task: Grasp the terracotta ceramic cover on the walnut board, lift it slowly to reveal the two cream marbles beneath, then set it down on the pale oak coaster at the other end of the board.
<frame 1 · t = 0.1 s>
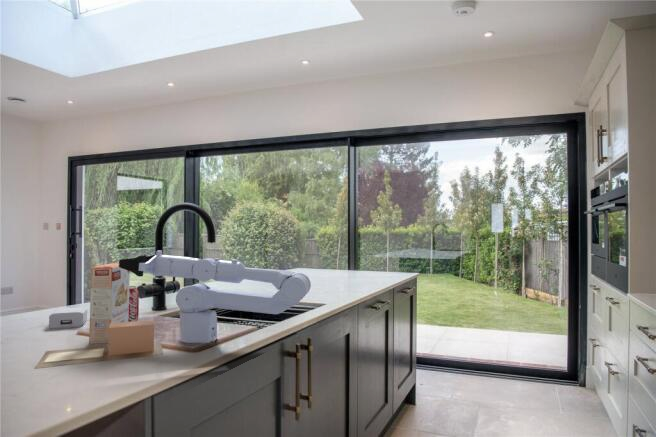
hand: (127, 262, 121), 22 cm above the table, tool horizontal, fingers open, 7 cm apart
terracotta cover: (131, 350, 108), point 1 cm above the table, touching walnut board
marble a: (141, 343, 109), point 2 cm above the table, touching walnut board
charger: (70, 323, 143), on the table
walnut board: (104, 357, 105), on the table
marble b: (121, 344, 107), point 2 cm above the table, touching walnut board
cracker box: (110, 340, 121), on the table
soda can: (126, 325, 140), on the table
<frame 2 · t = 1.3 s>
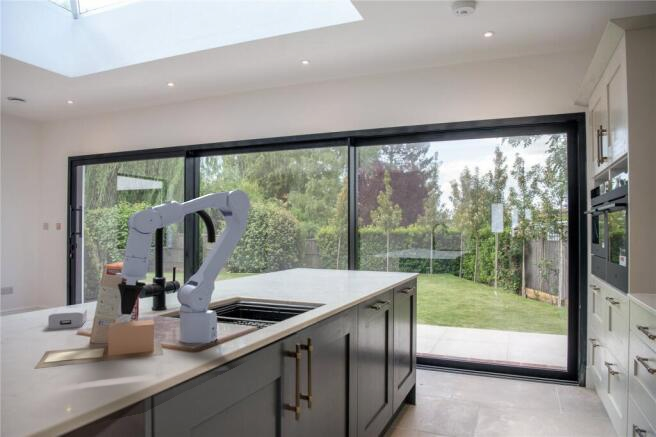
hand: (127, 311, 109), 10 cm above the table, tool pointing down, fingers open, 7 cm apart
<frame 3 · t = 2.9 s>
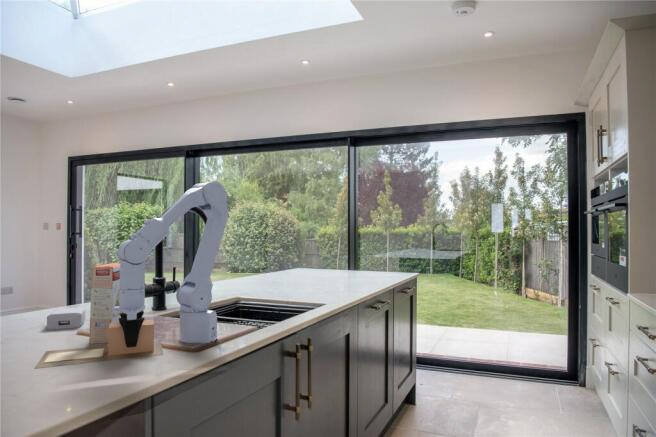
hand: (131, 343, 108), 3 cm above the table, tool pointing down, fingers closed on terracotta cover, 6 cm apart
terracotta cover: (131, 350, 108), point 1 cm above the table, touching gripper, walnut board
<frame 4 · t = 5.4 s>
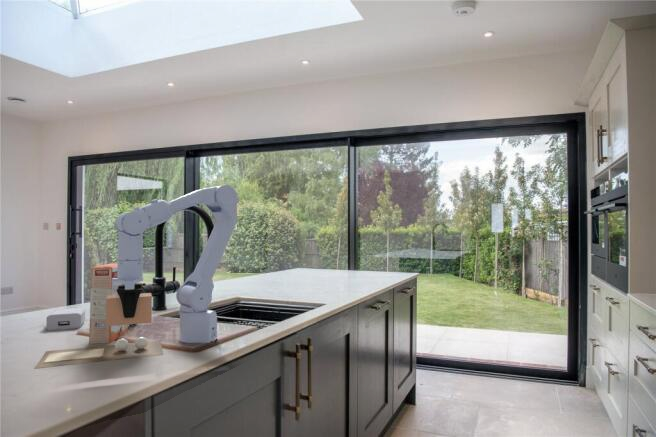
hand: (129, 315, 108), 10 cm above the table, tool pointing down, fingers closed on terracotta cover, 6 cm apart
terracotta cover: (129, 322, 108), point 8 cm above the table, touching gripper
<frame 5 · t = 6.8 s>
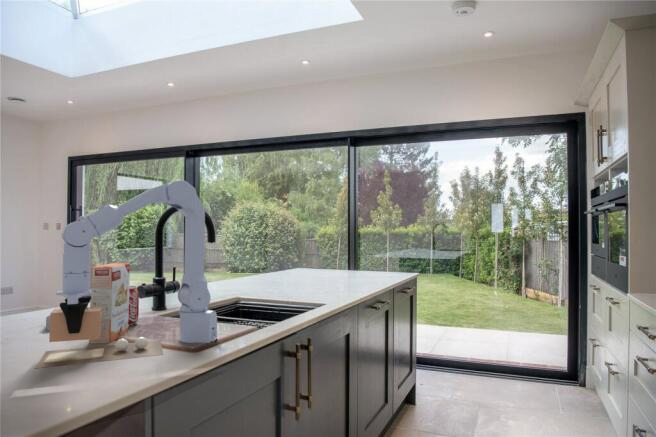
hand: (75, 330, 103), 7 cm above the table, tool pointing down, fingers closed on terracotta cover, 6 cm apart
terracotta cover: (76, 337, 103), point 5 cm above the table, touching gripper
when the fingers open (4 cm above the table, at t = 7.9 s): terracotta cover drops 1 cm, resting on walnut board.
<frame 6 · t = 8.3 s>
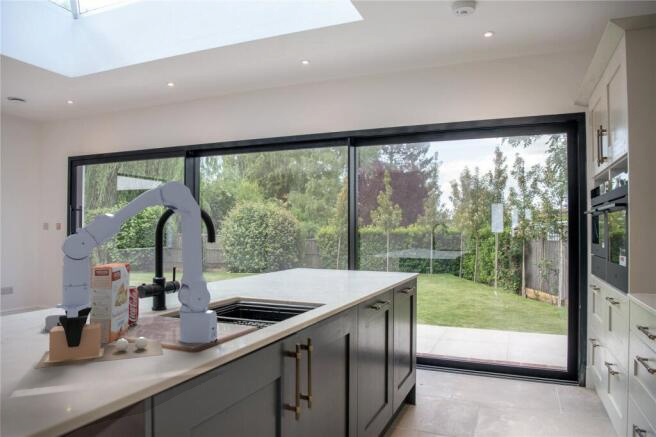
hand: (75, 342, 103), 4 cm above the table, tool pointing down, fingers open, 7 cm apart
terracotta cover: (76, 354, 103), point 1 cm above the table, touching walnut board
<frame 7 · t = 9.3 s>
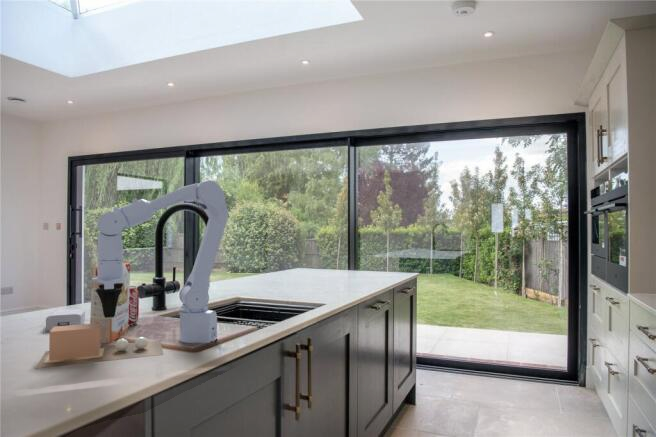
hand: (110, 314, 109), 9 cm above the table, tool pointing down, fingers open, 7 cm apart
cracker box: (110, 340, 121), on the table, touching gripper
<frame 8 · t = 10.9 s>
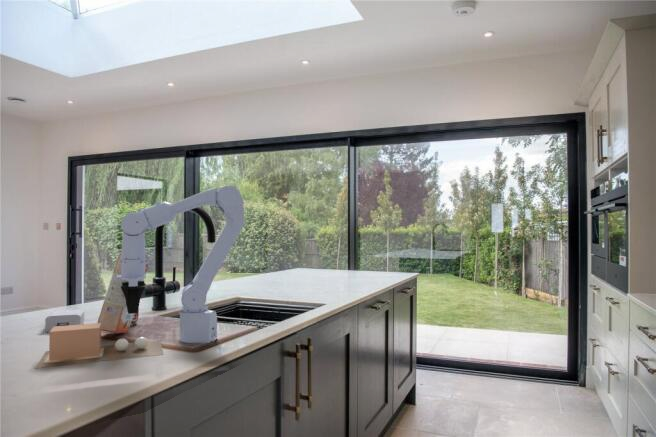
hand: (132, 310, 114), 9 cm above the table, tool pointing down, fingers open, 6 cm apart
cracker box: (112, 332, 122), point 2 cm above the table, touching gripper
at the end: terracotta cover 0.1 cm from the target spot on the walnut board, point 1.2 cm above the walnut board's base; terracotta cover tilted 0°; the gripper is holding nothing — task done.
